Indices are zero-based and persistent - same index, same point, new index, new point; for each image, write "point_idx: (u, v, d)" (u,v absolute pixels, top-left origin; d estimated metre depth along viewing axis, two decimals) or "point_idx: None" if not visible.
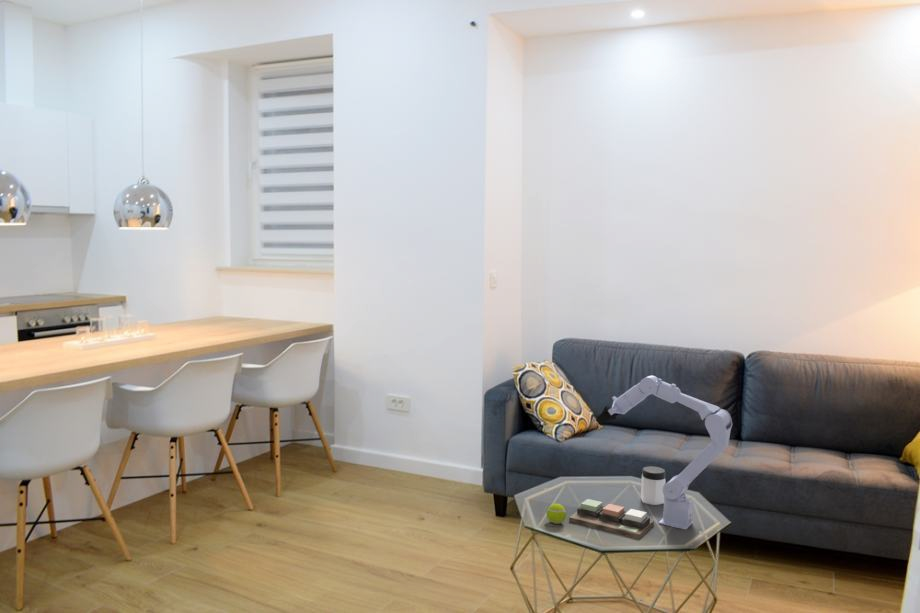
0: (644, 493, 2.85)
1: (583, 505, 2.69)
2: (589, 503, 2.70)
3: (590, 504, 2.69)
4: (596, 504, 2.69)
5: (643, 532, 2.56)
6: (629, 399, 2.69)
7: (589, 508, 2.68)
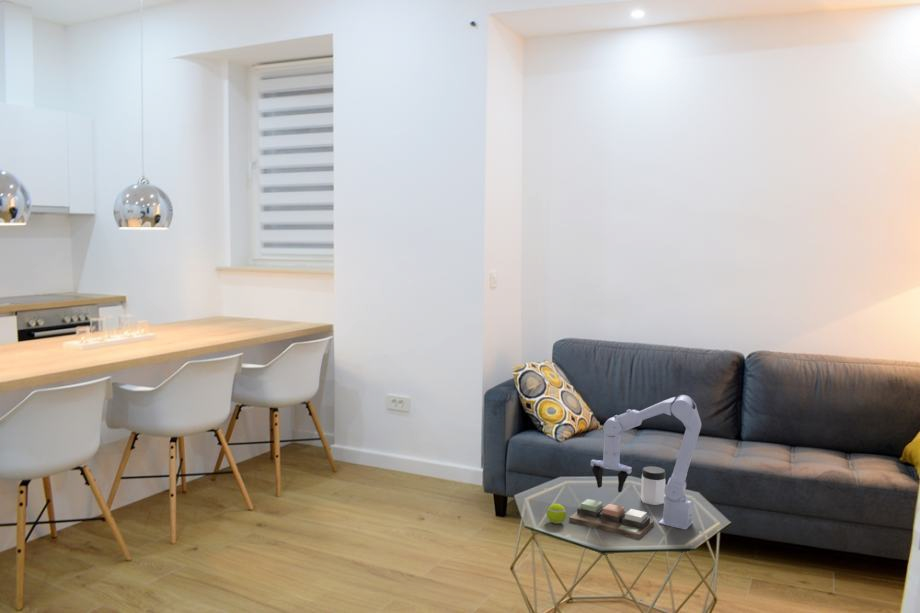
0: (644, 493, 2.85)
1: (583, 505, 2.69)
2: (589, 503, 2.70)
3: (590, 504, 2.69)
4: (596, 504, 2.69)
5: (643, 532, 2.56)
6: (610, 451, 2.70)
7: (589, 508, 2.68)
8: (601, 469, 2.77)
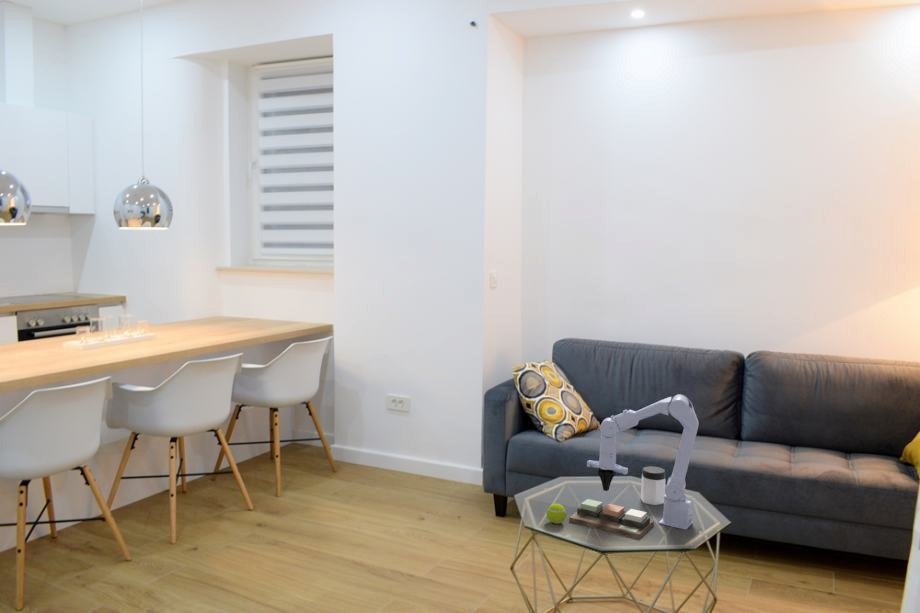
0: (644, 493, 2.85)
1: (583, 505, 2.69)
2: (589, 503, 2.70)
3: (590, 504, 2.69)
4: (596, 504, 2.69)
5: (643, 532, 2.56)
6: (607, 452, 2.70)
7: (589, 508, 2.68)
8: None
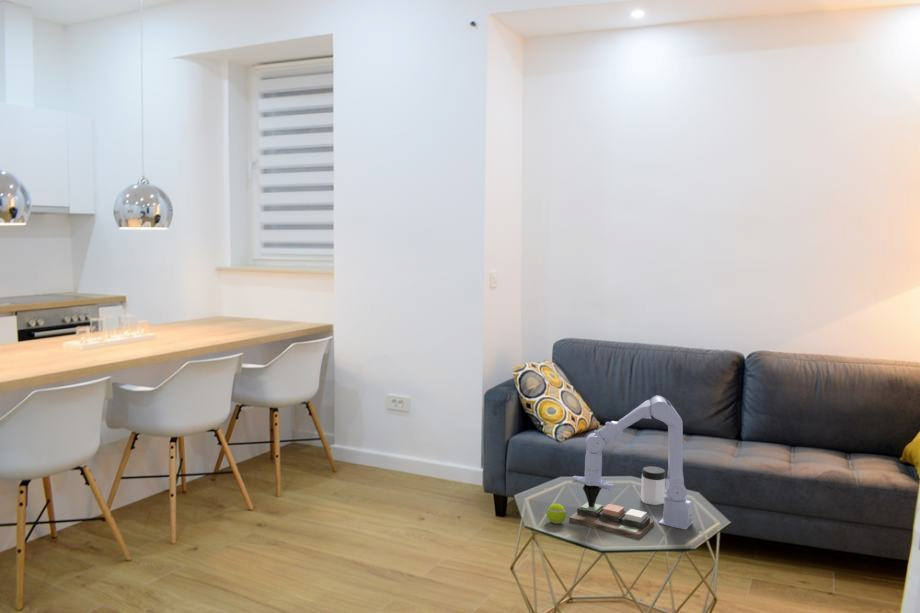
0: (644, 493, 2.85)
1: (583, 508, 2.70)
2: None
3: (590, 507, 2.69)
4: (596, 508, 2.69)
5: (643, 532, 2.56)
6: (593, 468, 2.66)
7: None
8: None
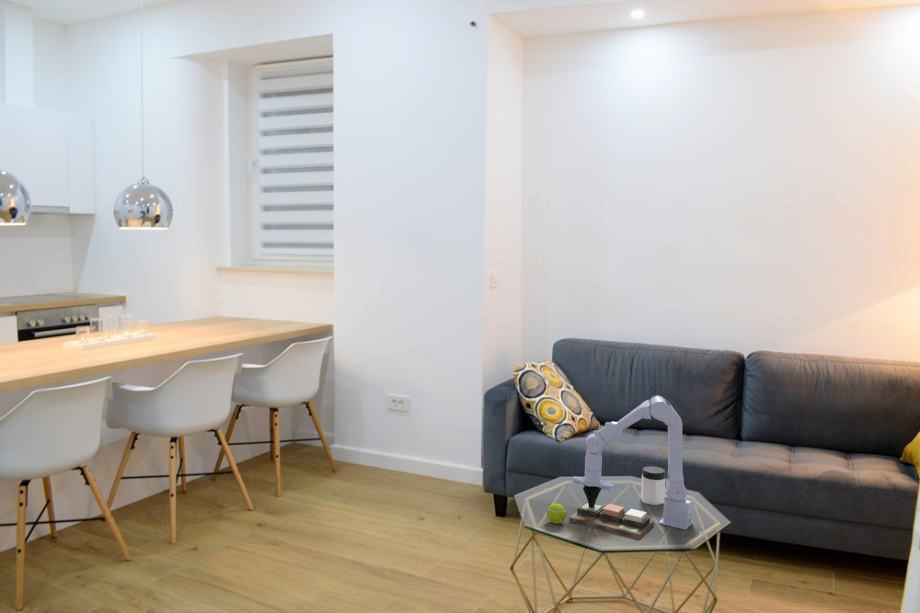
0: (644, 493, 2.85)
1: None
2: (589, 507, 2.70)
3: (590, 508, 2.69)
4: (596, 508, 2.69)
5: (643, 532, 2.56)
6: (593, 469, 2.66)
7: None
8: None
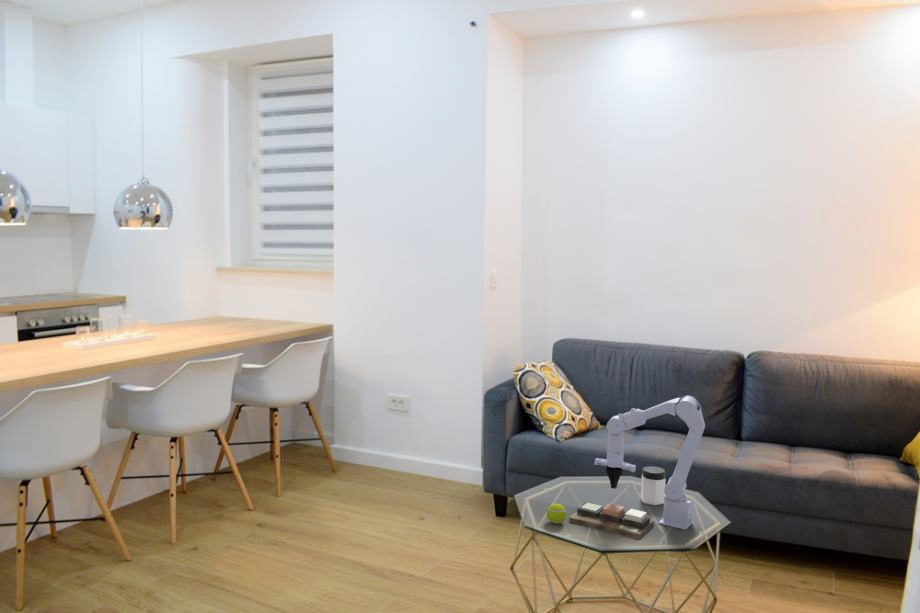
0: (644, 493, 2.85)
1: None
2: (589, 507, 2.70)
3: (590, 508, 2.69)
4: (596, 508, 2.69)
5: (643, 532, 2.56)
6: (614, 450, 2.70)
7: None
8: None
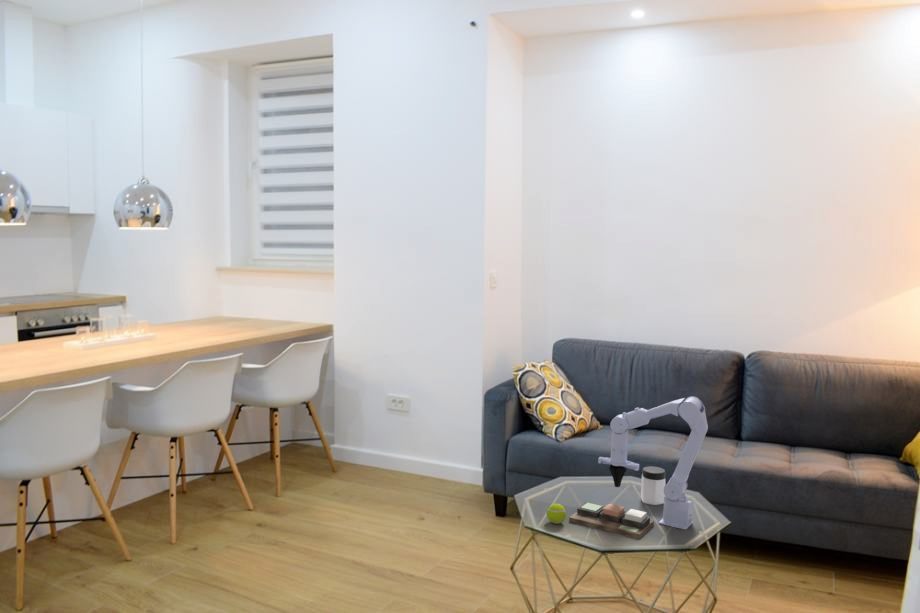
0: (644, 493, 2.85)
1: None
2: (589, 507, 2.70)
3: (590, 508, 2.69)
4: (596, 508, 2.69)
5: (643, 532, 2.56)
6: (617, 448, 2.71)
7: None
8: None
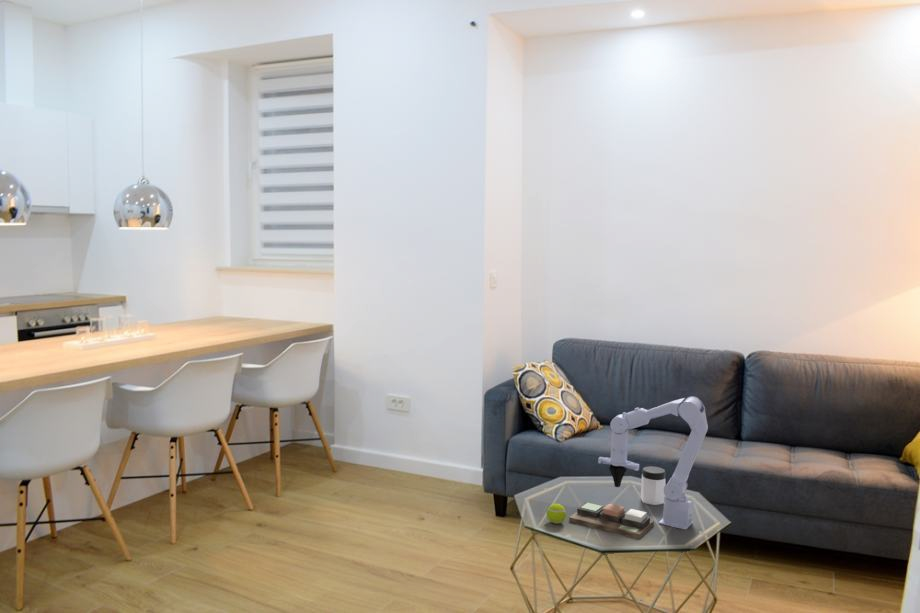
0: (644, 493, 2.85)
1: None
2: (589, 507, 2.70)
3: (590, 508, 2.69)
4: (596, 508, 2.69)
5: (643, 532, 2.56)
6: (617, 448, 2.71)
7: None
8: None
